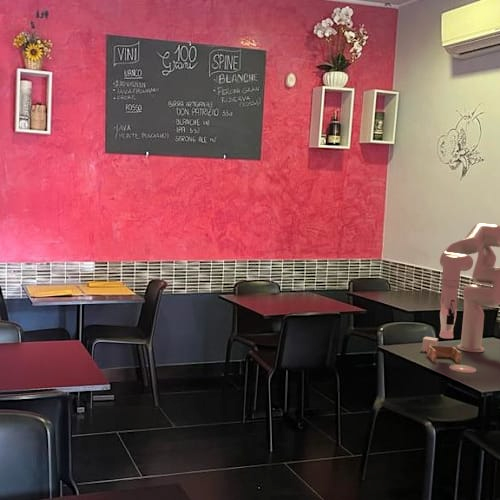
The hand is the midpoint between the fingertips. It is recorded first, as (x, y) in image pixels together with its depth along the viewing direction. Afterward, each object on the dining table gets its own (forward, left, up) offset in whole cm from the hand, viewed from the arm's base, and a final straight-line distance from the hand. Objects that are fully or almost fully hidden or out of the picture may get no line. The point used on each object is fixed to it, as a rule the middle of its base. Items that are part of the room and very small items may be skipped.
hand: (447, 322), depth 306 cm
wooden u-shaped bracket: (+1, -1, -17) cm, 17 cm away
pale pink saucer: (+16, +3, -17) cm, 23 cm away
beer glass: (0, 0, -7) cm, 7 cm away
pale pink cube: (-15, -3, -17) cm, 23 cm away
